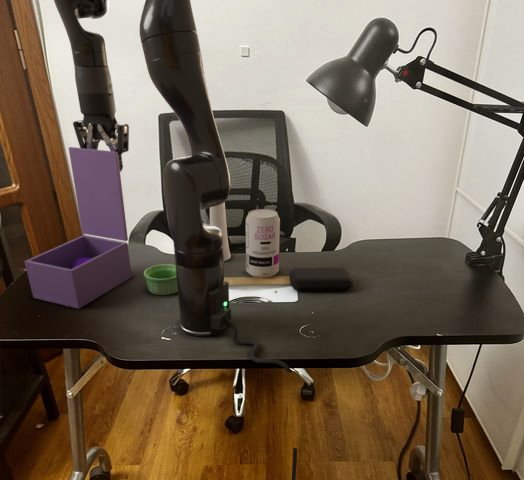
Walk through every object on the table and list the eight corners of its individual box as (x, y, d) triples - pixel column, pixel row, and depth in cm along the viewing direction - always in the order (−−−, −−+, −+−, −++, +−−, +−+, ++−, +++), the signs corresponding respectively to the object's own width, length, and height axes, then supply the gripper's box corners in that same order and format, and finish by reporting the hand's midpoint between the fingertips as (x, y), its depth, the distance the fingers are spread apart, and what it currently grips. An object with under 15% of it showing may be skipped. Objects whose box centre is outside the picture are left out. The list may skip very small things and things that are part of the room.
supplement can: (265, 263, 135) (265, 206, 128) (285, 273, 130) (287, 214, 122) (239, 270, 131) (238, 212, 123) (259, 281, 126) (259, 220, 118)
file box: (79, 308, 113) (71, 271, 108) (33, 297, 117) (24, 261, 113) (132, 276, 128) (127, 242, 123) (89, 268, 132) (83, 234, 128)
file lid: (115, 152, 113) (130, 149, 117) (68, 147, 117) (84, 144, 121) (126, 241, 122) (139, 235, 127) (82, 233, 127) (96, 227, 131)
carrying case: (346, 274, 129) (287, 275, 129) (347, 263, 128) (287, 263, 127) (354, 293, 120) (290, 293, 120) (355, 280, 119) (291, 281, 118)
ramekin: (180, 278, 127) (178, 261, 124) (188, 293, 120) (187, 276, 117) (143, 283, 124) (141, 266, 122) (149, 299, 117) (147, 281, 115)
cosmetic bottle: (216, 263, 135) (212, 177, 124) (203, 256, 139) (198, 172, 128) (235, 258, 139) (233, 173, 127) (222, 251, 143) (218, 169, 131)
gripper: (57, 90, 111) (72, 170, 120) (111, 93, 107) (122, 177, 115) (80, 87, 117) (93, 164, 126) (133, 89, 112) (142, 170, 121)
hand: (107, 170), depth 121 cm, fingers closed on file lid, 5 cm apart
